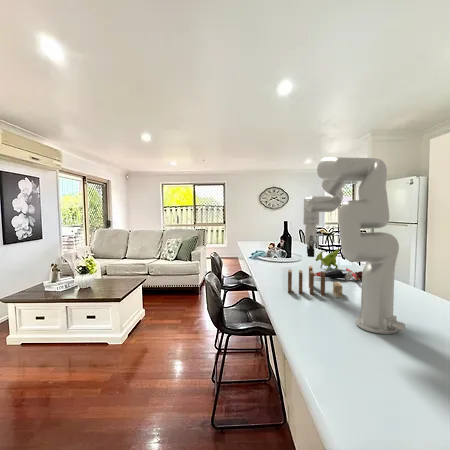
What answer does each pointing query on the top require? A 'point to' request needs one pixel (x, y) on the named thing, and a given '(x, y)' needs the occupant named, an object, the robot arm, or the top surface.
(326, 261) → the toy
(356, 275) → the toy
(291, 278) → the domino
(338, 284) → the end block
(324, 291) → the domino
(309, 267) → the domino
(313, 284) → the domino
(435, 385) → the top surface
